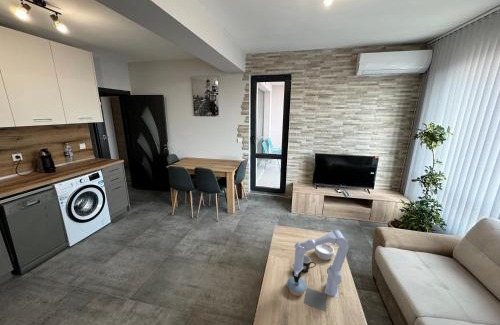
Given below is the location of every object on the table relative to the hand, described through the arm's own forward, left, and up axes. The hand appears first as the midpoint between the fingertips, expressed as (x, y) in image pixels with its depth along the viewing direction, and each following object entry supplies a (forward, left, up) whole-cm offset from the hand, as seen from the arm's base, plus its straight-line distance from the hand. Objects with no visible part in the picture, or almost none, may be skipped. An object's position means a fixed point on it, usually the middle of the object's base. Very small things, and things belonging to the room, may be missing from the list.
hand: (297, 277), depth 136 cm
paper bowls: (-44, +14, -10) cm, 47 cm away
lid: (0, 0, -6) cm, 6 cm away
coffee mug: (-20, +3, -10) cm, 23 cm away
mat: (+2, +13, -10) cm, 16 cm away
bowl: (0, 0, -10) cm, 10 cm away
